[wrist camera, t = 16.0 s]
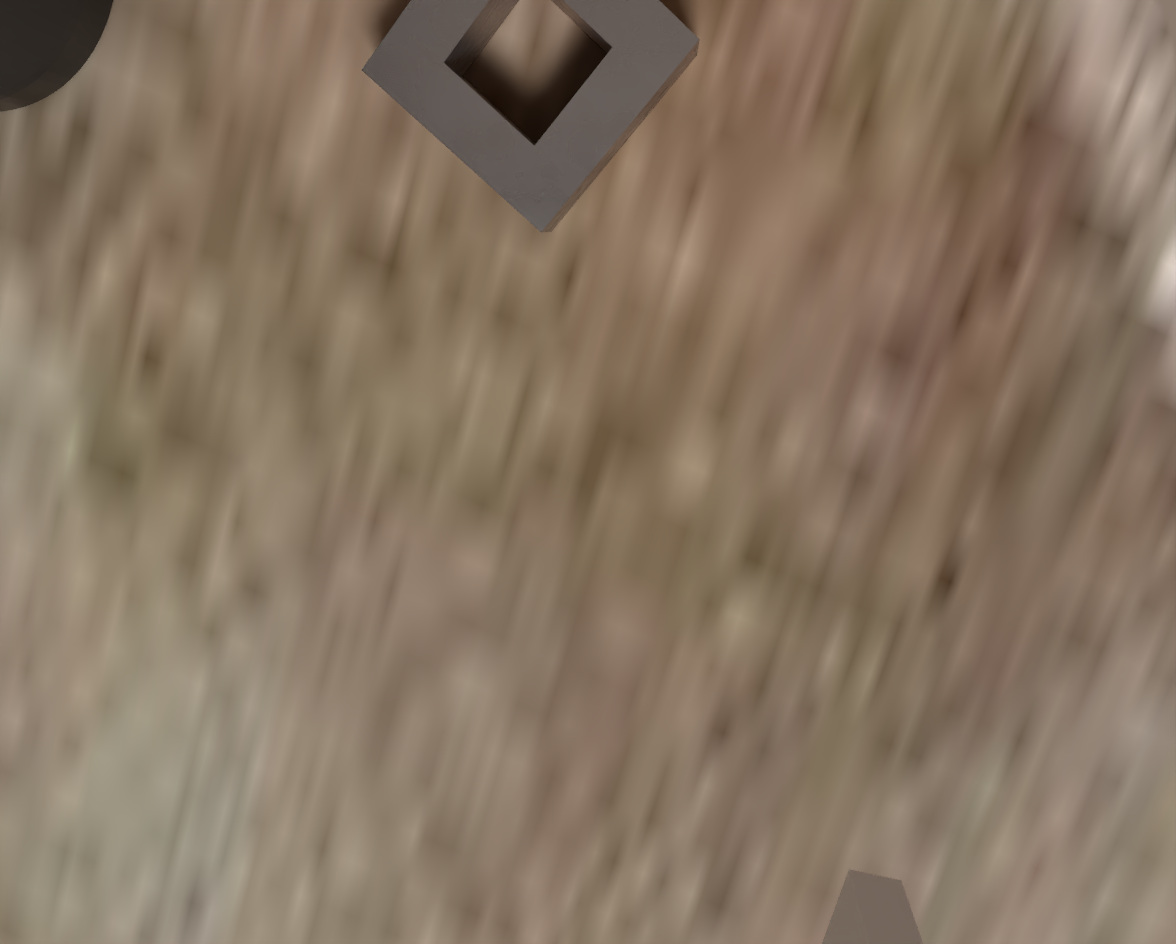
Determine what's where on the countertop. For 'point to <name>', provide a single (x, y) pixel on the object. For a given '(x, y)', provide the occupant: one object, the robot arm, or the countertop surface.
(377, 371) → the countertop surface
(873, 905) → the robot arm
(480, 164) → the socket block
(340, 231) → the countertop surface
